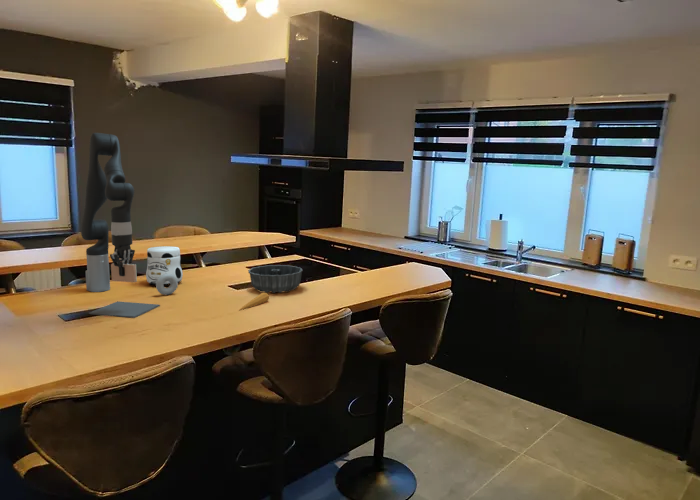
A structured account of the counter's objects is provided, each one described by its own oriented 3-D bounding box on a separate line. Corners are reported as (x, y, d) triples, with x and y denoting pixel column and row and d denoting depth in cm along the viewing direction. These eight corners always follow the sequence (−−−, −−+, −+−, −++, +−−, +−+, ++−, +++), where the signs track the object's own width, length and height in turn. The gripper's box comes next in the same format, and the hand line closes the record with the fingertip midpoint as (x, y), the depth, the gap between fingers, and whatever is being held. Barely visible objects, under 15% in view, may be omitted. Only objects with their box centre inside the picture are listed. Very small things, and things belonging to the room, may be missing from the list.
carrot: (264, 301, 227) (261, 292, 227) (272, 299, 225) (268, 290, 225) (235, 317, 210) (231, 307, 210) (243, 314, 208) (239, 304, 208)
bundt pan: (237, 292, 241) (237, 271, 239) (266, 281, 265) (266, 262, 264) (285, 298, 231) (286, 277, 230) (311, 286, 255) (311, 267, 254)
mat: (88, 314, 200) (88, 312, 200) (117, 302, 217) (117, 301, 217) (134, 317, 196) (134, 316, 196) (159, 306, 214) (159, 304, 214)
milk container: (148, 289, 243) (146, 252, 240) (144, 281, 258) (143, 246, 255) (185, 285, 251) (184, 250, 248) (179, 278, 266) (178, 245, 263)
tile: (111, 280, 205) (110, 264, 204) (114, 280, 207) (113, 263, 206) (134, 282, 203) (133, 265, 202) (136, 281, 205) (136, 264, 204)
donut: (157, 297, 228) (157, 275, 226) (155, 295, 231) (154, 274, 229) (179, 294, 234) (178, 273, 233) (176, 292, 237) (175, 271, 235)
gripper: (123, 230, 209) (125, 271, 212) (102, 234, 196) (104, 278, 199) (140, 231, 208) (142, 272, 211) (119, 235, 195) (121, 279, 197)
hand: (123, 275), depth 205 cm, fingers closed on tile, 1 cm apart
